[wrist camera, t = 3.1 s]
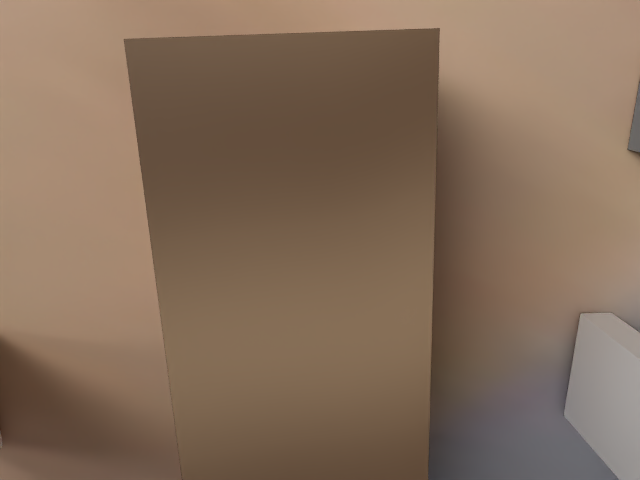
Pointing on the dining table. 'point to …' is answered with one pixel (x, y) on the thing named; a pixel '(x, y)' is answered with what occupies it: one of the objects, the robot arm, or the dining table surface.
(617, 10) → the dining table surface
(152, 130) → the wooden block
